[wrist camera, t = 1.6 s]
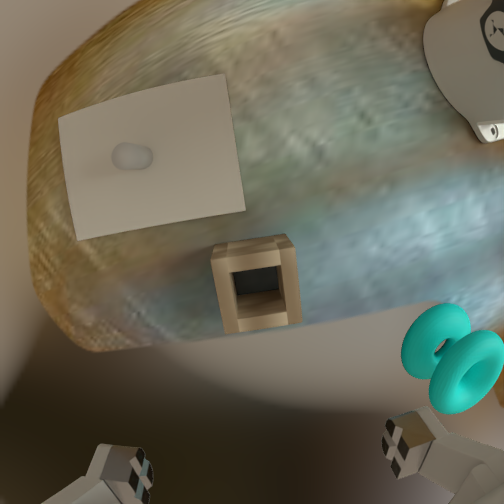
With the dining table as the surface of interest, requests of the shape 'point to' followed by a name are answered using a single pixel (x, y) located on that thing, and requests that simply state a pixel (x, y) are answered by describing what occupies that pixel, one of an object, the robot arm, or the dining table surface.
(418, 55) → the dining table surface
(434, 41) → the robot arm
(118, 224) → the post board
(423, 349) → the donuts
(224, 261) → the collar
